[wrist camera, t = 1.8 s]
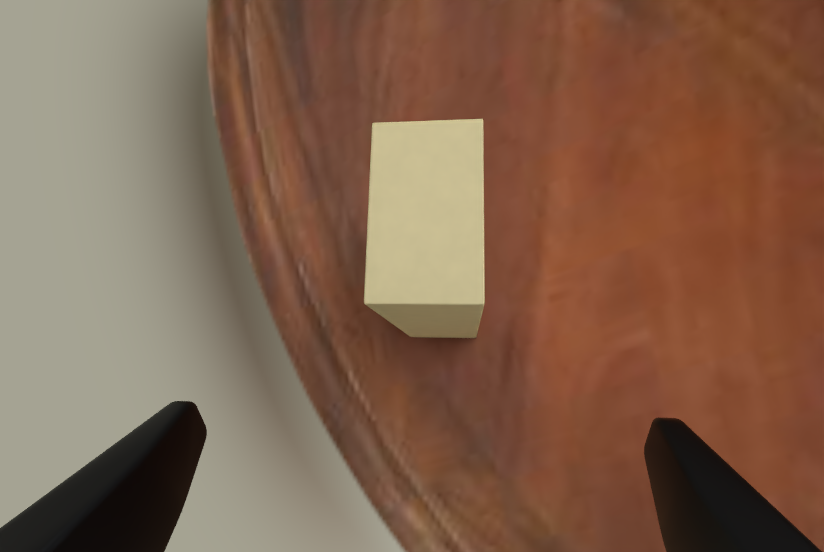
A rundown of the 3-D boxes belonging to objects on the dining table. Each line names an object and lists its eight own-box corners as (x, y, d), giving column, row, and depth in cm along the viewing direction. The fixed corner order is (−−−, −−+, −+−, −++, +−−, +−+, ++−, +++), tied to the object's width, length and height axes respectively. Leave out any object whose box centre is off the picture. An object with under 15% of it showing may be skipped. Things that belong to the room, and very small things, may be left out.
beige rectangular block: (476, 338, 21) (484, 304, 11) (410, 337, 21) (363, 303, 12) (475, 231, 22) (483, 117, 12) (412, 232, 22) (371, 122, 13)
